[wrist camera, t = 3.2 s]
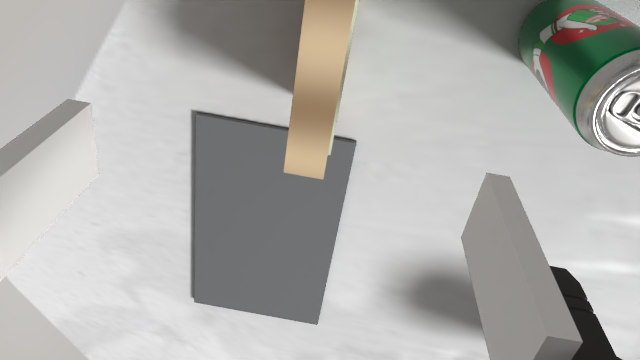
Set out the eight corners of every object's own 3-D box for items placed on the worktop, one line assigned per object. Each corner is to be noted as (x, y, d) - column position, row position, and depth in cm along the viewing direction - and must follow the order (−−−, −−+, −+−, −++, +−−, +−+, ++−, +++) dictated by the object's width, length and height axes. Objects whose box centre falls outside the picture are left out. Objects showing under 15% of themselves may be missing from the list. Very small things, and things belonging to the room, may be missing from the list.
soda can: (571, 82, 32) (658, 178, 22) (501, 56, 32) (557, 143, 22) (620, 7, 29) (745, 78, 19) (544, -22, 29) (631, 35, 19)
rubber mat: (197, 112, 36) (195, 114, 36) (356, 140, 36) (356, 143, 36) (195, 299, 47) (194, 302, 47) (317, 321, 47) (317, 324, 47)
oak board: (330, -71, 29) (310, -47, 20) (369, -64, 29) (365, -37, 20) (306, 99, 35) (283, 172, 26) (338, 105, 35) (326, 180, 26)
